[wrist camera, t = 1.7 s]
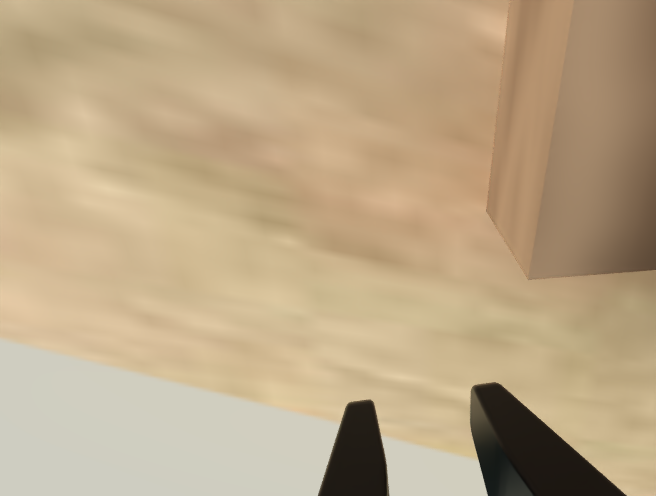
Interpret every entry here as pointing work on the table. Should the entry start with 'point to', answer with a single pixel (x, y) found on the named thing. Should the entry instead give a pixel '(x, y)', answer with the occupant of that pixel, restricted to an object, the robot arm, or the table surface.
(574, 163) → the walnut block
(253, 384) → the table surface
